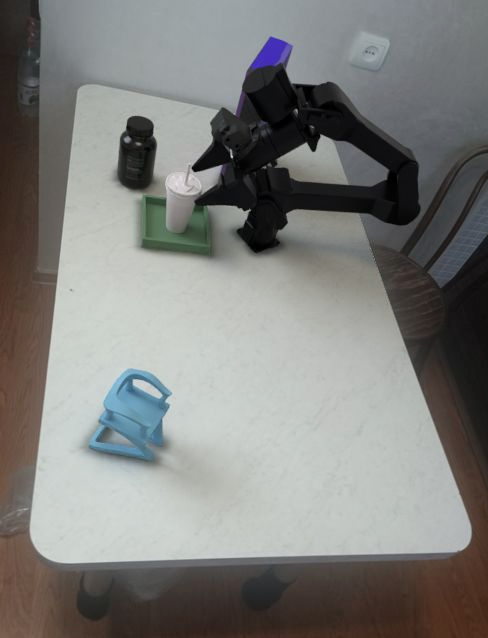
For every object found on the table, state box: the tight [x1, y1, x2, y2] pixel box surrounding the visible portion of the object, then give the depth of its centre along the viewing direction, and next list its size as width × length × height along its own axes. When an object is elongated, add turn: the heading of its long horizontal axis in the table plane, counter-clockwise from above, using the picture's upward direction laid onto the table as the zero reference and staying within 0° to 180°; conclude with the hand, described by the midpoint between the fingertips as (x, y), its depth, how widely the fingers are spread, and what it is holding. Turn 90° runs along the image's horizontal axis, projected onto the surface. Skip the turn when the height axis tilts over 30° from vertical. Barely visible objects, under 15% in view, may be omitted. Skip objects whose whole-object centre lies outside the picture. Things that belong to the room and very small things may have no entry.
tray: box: [140, 193, 212, 256], centre depth 99 cm, size 12×12×2 cm
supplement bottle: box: [116, 115, 158, 190], centre depth 101 cm, size 7×7×12 cm
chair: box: [88, 368, 173, 462], centre depth 68 cm, size 8×8×12 cm
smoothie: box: [164, 161, 203, 233], centre depth 94 cm, size 6×6×14 cm
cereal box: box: [218, 36, 294, 178], centre depth 108 cm, size 17×5×24 cm, turn 164°
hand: (194, 186), depth 93 cm, fingers open, 9 cm apart
